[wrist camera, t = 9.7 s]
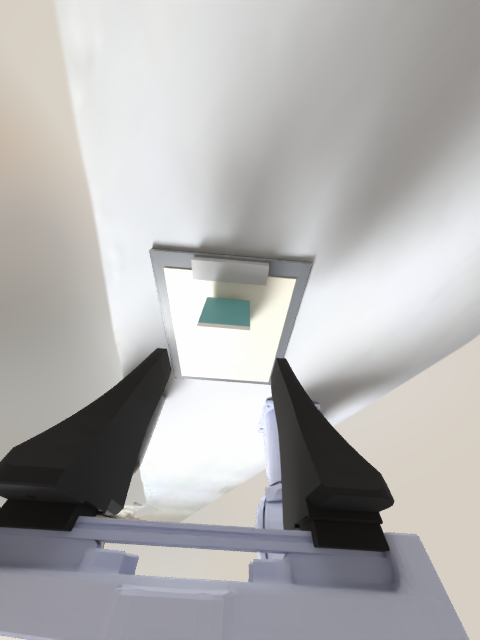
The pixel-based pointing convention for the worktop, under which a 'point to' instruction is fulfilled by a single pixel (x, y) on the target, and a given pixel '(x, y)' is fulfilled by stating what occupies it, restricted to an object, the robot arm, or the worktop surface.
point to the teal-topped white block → (224, 331)
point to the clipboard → (230, 283)
